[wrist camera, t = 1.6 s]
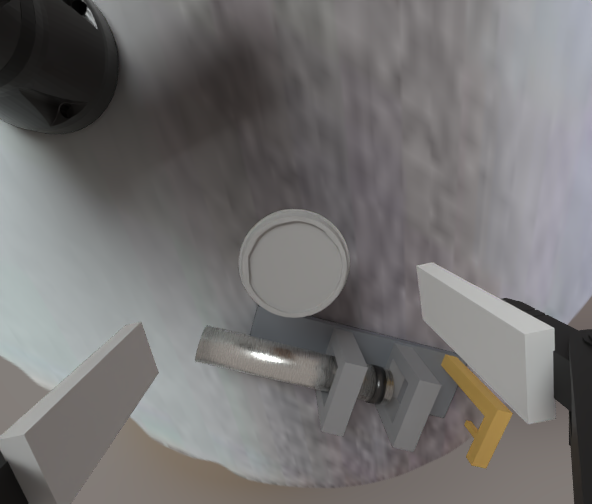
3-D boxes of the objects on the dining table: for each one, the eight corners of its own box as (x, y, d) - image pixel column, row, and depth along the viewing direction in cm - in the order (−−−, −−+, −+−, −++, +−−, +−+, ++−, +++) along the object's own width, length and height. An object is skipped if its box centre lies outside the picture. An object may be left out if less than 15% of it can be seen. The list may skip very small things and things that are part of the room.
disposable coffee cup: (275, 187, 35) (270, 187, 24) (346, 226, 37) (374, 246, 25) (238, 258, 37) (215, 291, 25) (307, 293, 38) (316, 341, 26)
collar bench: (241, 366, 40) (224, 432, 29) (258, 303, 38) (247, 349, 27) (440, 412, 42) (492, 489, 32) (464, 355, 41) (529, 416, 30)
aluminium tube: (202, 349, 37) (192, 370, 33) (210, 318, 36) (200, 335, 32) (375, 390, 39) (385, 414, 35) (385, 361, 38) (398, 382, 34)
